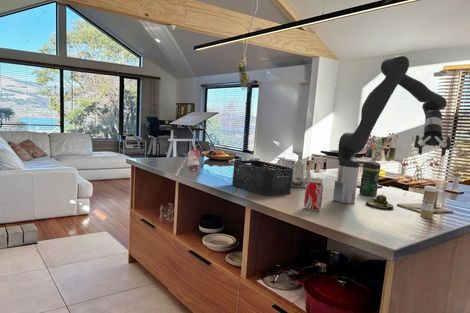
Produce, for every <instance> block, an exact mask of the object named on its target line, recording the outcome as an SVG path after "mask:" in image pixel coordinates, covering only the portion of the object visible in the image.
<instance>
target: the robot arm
mask: <svg viewBox="0 0 470 313" xmlns="http://www.w3.org/2000/svg"><path fill="white" fill-rule="evenodd" d="M409 67H410V60H409V59H408V57H407V56H405V55H396V56H392V57H389V58H386V59H384V60H383V61H382V63H381V65H380V72H381V73H382V74H383V75H384V76H385V78H384V79H383V80H382V81H381V82H380V83H379V84H378V85H377V86H375V87H374V88H373V90H371V92H370V93H369V94H368V96H367V97H366V99H365V101H364V102H363V104H362V107H361V113H360V114H361V115H360V121H359V124H358V126H357V128H356V129H355V131H354V132H344V133H343V134H342V135H341V136H340V138H339V140H338V150H337V159H338V167H337V168H338V169H337V176H336V180H335V181H334V187H333V197H332V201H336V202H337V203H340V204H342V203H343V204H355V200H356V193H357V186H358V178H359V170H360V161H359V160H358V159H357V157H356V154H357V153H358V154H359V153H361V152H362V151H363V150H364V149H365V147H366V145H367V143H368V142H369V139H370V136H371V134H372V131H373V129H374V127H375V126H376V123H377V121H378V119H379V118H380V117H381V114H382V113H383V111H384V110H385V107H386V105H387V104H388V102H389V100H390V99H391V97H392V96H393V93H394V92H395V89H396V88H397V87H398V85H399V86H400V87H401V88H403V89H404V90H406V91H407V92H408V93H409V94H410V95H412V96H413V97H414V98H415V99H416V101H418V102H419V103H423V104H422V110H423V113H424V116H425V118H424V124H423V135H422V136H420V135H418V134H417V135H416V136H415V141H414V148H415V149H417V148H418V154H419V155H420V156H422V154H423V148H425V147H426V146H429V147H430V146H432V147H437V148H439V149H441V152H440V153H441V155H440V156H441V157H444V156H446V151H450V150H451V146H452V145H451V144H452V143H451V137H450V136H447V137H443V114H442V112H441V110H444V109H445V108H446V107H447V106H448V104H447V103H448V102H447V99H446V98H445V97H444V96H443V95H441V94H438V93H437V92H434V91H432V90H430V88H428V87H427V86H426V84H424V83H423V82H422V81H420V80H418V79H416V78H413V77H411V76H409V74H407V73H408V70H409V69H410V68H409ZM419 142H421V143H419ZM444 143H445V144H444Z"/></svg>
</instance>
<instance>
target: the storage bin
mask: <svg viewBox="0 0 470 313" xmlns="http://www.w3.org/2000/svg"><path fill="white" fill-rule="evenodd" d="M293 172H294V167H293V168H292V167H290V166H287V167H286V166H284V165H279V164H275V163H271V162H266V161H261V160H234V162H233V172H232V182H231V185H232V186H234V187H237V188H239V189H244V190H245V191H249V192H252V193H256V194H257V195H261V196H267V197H273V196H282V195H283V196H284V195H291V191H292V186H291V184H292V175H293ZM286 174H287V175H286Z"/></svg>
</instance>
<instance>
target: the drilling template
mask: <svg viewBox="0 0 470 313" xmlns="http://www.w3.org/2000/svg"><path fill="white" fill-rule="evenodd" d="M438 197H439V190H437V192H436V195H435V202H434V209H433V215H434V214H453V213H454V210H451V209H448V208H444V207H441V206H437V203H438ZM396 206H397V207H400V208H402V209H406V210H409V211H412V212H415V213H419V214H421V208H422V203H421V202H419V203H418V202H417V203H416V202H415V203H396Z"/></svg>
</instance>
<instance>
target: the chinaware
mask: <svg viewBox="0 0 470 313" xmlns="http://www.w3.org/2000/svg"><path fill="white" fill-rule="evenodd" d="M289 165H291V168H292V167H293V175H292V184H291V187H296V188H304V187H305V188H306V184H307V182H308V180H318V181H322V184H324V181H325V179H323V178H321V177H313V176H312V175H311V171H310V167H311V166H312V164H308V165H307V167H306V176H305V172H304V169H305V165H306V163H304V162H303V160H302V159H301V158H299V159H298V160H297V161H295V162H292V163H291V162H290V163H288V164H286V166H285V167H289ZM286 175H287V174H286Z"/></svg>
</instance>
